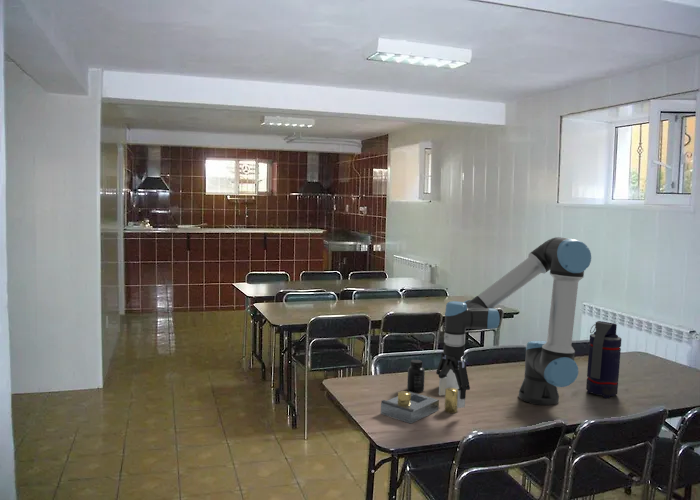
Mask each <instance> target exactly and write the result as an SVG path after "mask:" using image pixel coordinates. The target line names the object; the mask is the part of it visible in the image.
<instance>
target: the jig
mask: <svg viewBox="0 0 700 500" xmlns="http://www.w3.org/2000/svg"><path fill="white" fill-rule="evenodd" d="M439 401H440V399H437V398H433V397H431V396H427V395H423V394H419V393H418V392H411V391H407V390H401V391H398V392H397V396H396V397H392V398H390V399H388V400H385V399H382V400H381V403H380V415H382V416H386V417H389V418H392V419H395V420H398V421H401V422H405V423H408V424H412V423H415V422H417V421H419V420H422V419H423V418H425V417H428V416H430V415H432V414H434V413H436V412H439V404H440V402H439Z"/></svg>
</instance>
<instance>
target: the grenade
mask: <svg viewBox="0 0 700 500" xmlns="http://www.w3.org/2000/svg"><path fill="white" fill-rule="evenodd" d="M617 326H618V325H617V323H614V322H608V321H601V320H598V321H595V323H594V324H592V326H591V327H590V330H589V333H590V335H589V342H588V343H589V344H588V355H587V356H588V357H587V359H588V360H587V368H586V369H587V371H586V387H585V389H586V391H587V394H589V393H591V394H593V395H598V396H602V397H603V399H610V397H614V396H617V395H618V391H619V390H618V389H619V376H620V366H621V363H620V362H621V350H622V348H621V347H622V338H621V337H620V336H619V334H617ZM593 327H594V329H593V331H592V328H593Z"/></svg>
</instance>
